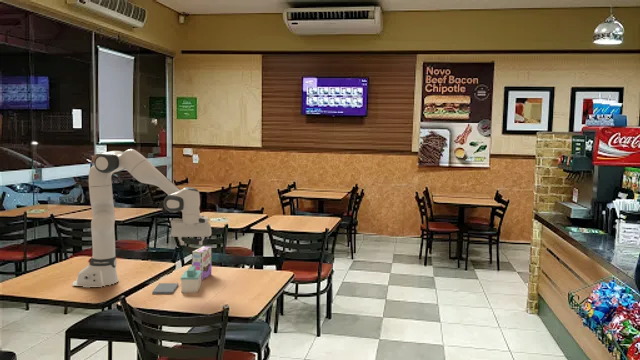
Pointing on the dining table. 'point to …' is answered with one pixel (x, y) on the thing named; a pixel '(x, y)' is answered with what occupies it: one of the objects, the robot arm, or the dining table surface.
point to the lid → (191, 273)
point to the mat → (165, 288)
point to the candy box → (202, 261)
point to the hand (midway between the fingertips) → (191, 244)
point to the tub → (190, 285)
